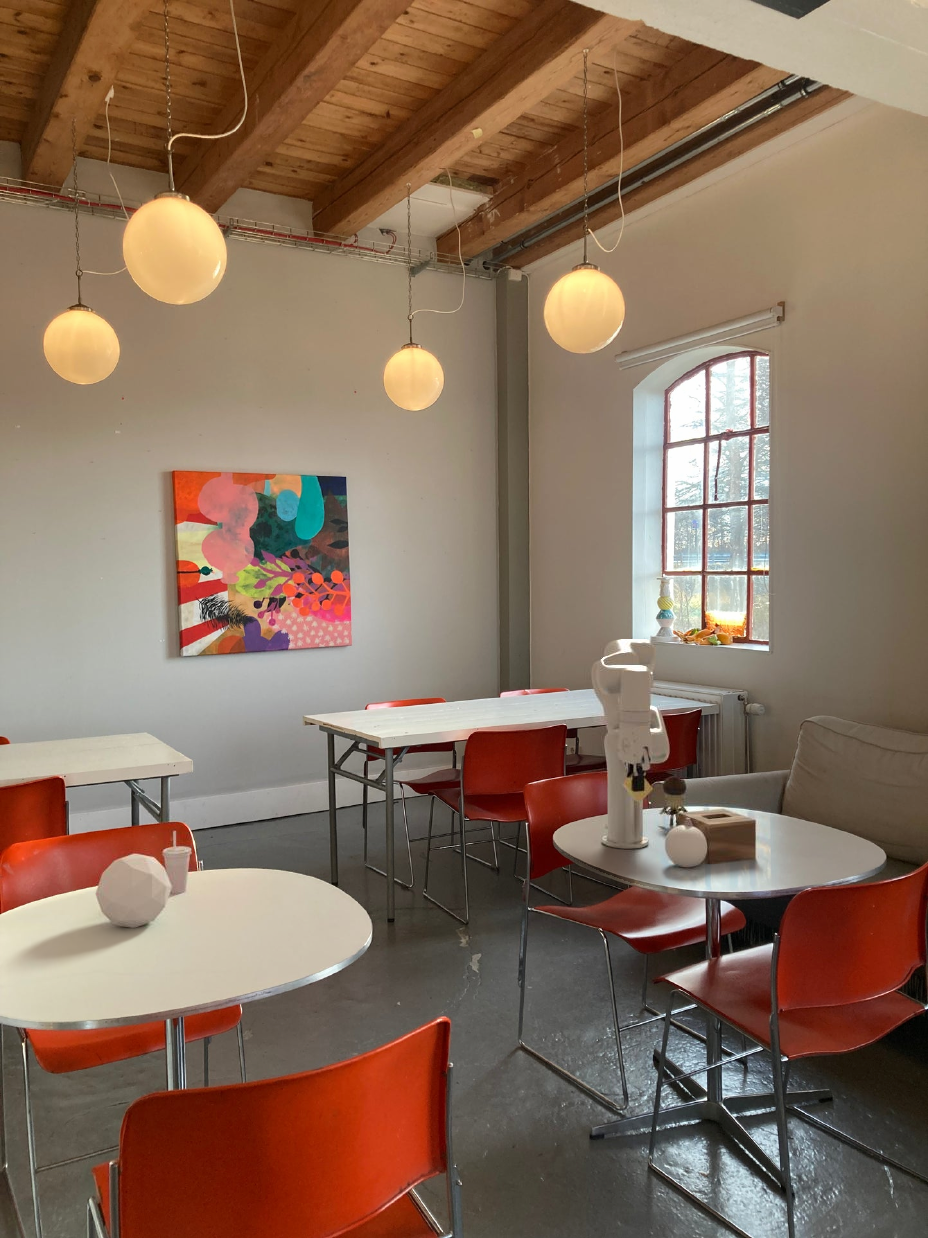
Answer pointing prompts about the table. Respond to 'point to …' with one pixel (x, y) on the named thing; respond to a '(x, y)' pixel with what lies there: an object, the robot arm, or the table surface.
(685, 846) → the ornament
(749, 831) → the box
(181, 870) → the smoothie
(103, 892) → the geometric shape
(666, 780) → the toy
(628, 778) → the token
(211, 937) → the table surface
